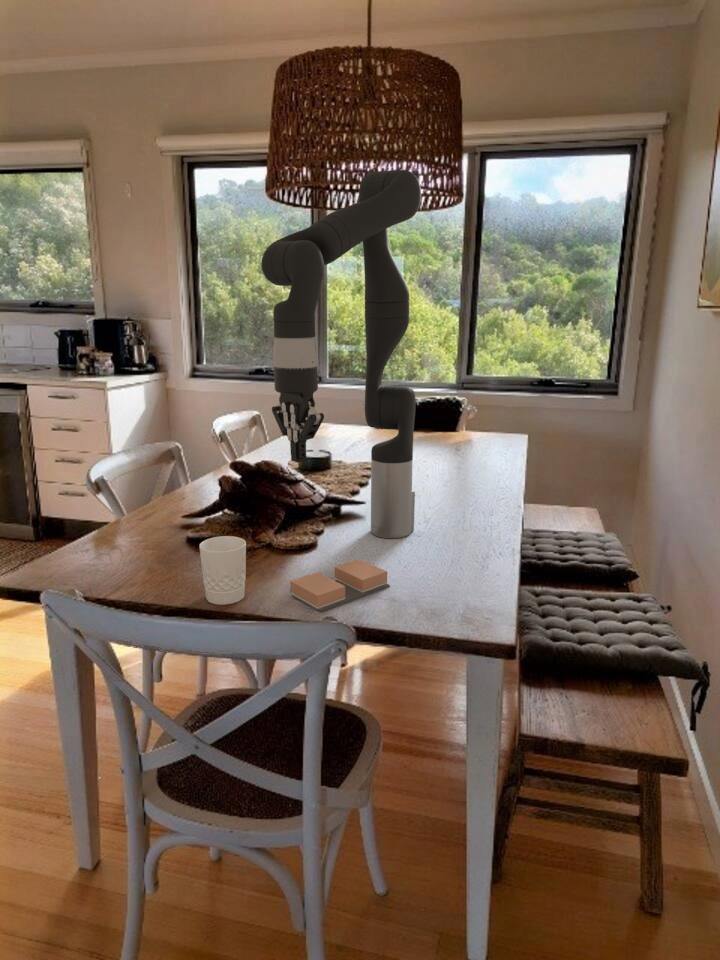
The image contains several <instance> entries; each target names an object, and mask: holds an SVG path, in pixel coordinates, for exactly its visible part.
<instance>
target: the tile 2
mask: <svg viewBox="0 0 720 960" xmlns="http://www.w3.org/2000/svg"><path fill="white" fill-rule="evenodd" d="M333 568H334V569H333V570H334V571H333V572H334V573H333V574H334V576H333V577H334V580H335V581H336V580H338V581H340V582H342V583H344V584H346V585H348V586H350V587H352V588H354V589H356V590H358V591H360V592H362V593H363V592H366V591H368V590H371V589H374V588H376V587H379V586H382V585H385V584H388V571H387V570H384V569H383V568H380V567H377V566H376V565H373V564H371V563H369V562H366V561H364V560H362V559H359V558H358V559H355V560H351V561H349V562H344V563H342V564H339V565H336V566H334V567H333Z"/></svg>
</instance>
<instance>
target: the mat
mask: <svg viewBox="0 0 720 960" xmlns="http://www.w3.org/2000/svg"><path fill="white" fill-rule="evenodd" d="M335 581H336V582H338V583H340V584H342V585H344V586H345V599H344V600H341V601H338V602H336V603H333V604H330V605H327V606H325V607H322V608H319V609H317V608H315V607H313V606H312V605H310V604H308V603H306V602H305V601H303V600H301V599H299V598H298V597H296V596H294V595H292V598H293V599H296V600H297V601H299V602H301V603H302V604H304V605H306V606H308V607H310V608H311V609H313V610H315V611H317V612H319V613H321V614H322V613H323V612H326V611H329V610H331V609H334V608H337V607H339V606H342V605H346V604H347V603H351V602H353V601H356V600H359V599H362V598H364V597H366V596H369V595H371V594H375V593H378V592H380V591H383V590H384V589H385V588H386V589H388V588H390V587H391V585H390V584H388V583H387V584H385V585H382V586H379V587H376V588H374V589H371V590H368V591H366V592H363V593H362V592H360V591H358V590H356V589H354V588H352V587H350V586H348V585H346V584H344V583H342V582H340V581H338V580H336V579H335ZM387 587H388V588H387ZM382 589H383V590H382ZM386 589H385V590H386ZM379 590H380V591H379Z"/></svg>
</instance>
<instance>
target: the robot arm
mask: <svg viewBox="0 0 720 960" xmlns="http://www.w3.org/2000/svg"><path fill="white" fill-rule="evenodd" d="M420 183H421V182H420V181H419V179H418V177H417V176H416V174H415V173H413V172H412V171H409V170H406V169H394V170H393V169H392V170H385V171H384V170H383V171H382V170H381V171H373V172H369V173H367V174H365V175H364V177H363V178H362V180H361V181H360V185H359V190H358V202H357V203H354V204H350V205H348V206H345V207H341V208H340V209H337V210H335V211H333V212H330V213H328V214H327V215H324V216H322V218H320V219H318V220H317V221H315V222H313V224H311V225H310V226H308V227H307V228H305V229H301V230H299V231H296V232H293V233H290V234H289V235H285V236H283V237H281V238H279V239H276V241H273V242H272V243H271V244H270V245H269V246H267V247H266V249H265V251H264V252H263V255H262V256H261V257H262V258H261V270H262V271H261V272H262V274H263V275H264V277H265V278H266V279H267V281H269V282H270V283H271V284H273V285H276V286H280V287H289V286H290V291H289V294H288V298H287V299H285V300H283V301H280V302H278V303H276V304H275V305H274V307H273V314H272V315H273V318H272V319H273V337H274V338H273V339H274V340H273V351H272V353H273V375H274V377H273V378H274V379H273V383H274V391H275V392H277V393H279V394H280V395H279V398H278V404H277V405H275V406H272V408H271V412H272V415H273V417H274V419H275V421H276V423H277V425H278V428H279V430H280V432H281V435H282V436H283V437H287V440H288V442H290V443H289V445H290V448H289V450H290V460H291V461H292V462H294V463H302V462H305V461H306V459H307V441H308V440H311V439H312V440H313V439H314V438H315V436H316V434H317V432H318V430H319V429H320V427H321V425H322V423H323V421H324V419H325V415H324V413H323V412H318V411H317V409H316V408H315V407H316V402H315V399H314V393H315V392H317V391H318V389H319V382H318V381H319V380H318V378H319V375H318V374H319V373H318V347H317V340H316V315H315V314H316V308H317V306H318V302H319V296H320V292H321V289H322V288H321V287H322V284H323V280H324V273H325V266H326V265H329V264H332V263H333V262H335V261H337V260H338V259H339V258H341V257H342V256H343V255H345V254H346V253H348V252H349V251H350V250H352V249H353V248H355V247H356V246H358V245H360V244H361V243H362V249H363V269H364V325H365V326H364V327H365V342H366V343H365V344H366V345H365V348H366V354H365V355H366V362H365V363H366V364H365V385H364V386H365V389H364V390H365V391H364V419H365V422H366V424H367V426H369V427H370V428H375V429H384V430H385V429H392V430H398V433H397V434H396V436H394V437H392V438H390V439H388V440H385V441H381V442H379V443H376V444H374V445H372V447H371V452H370V453H371V457H370V459H371V460H370V461H371V462H370V463H371V464H370V466H371V467H370V473H371V474H370V533H371V534H372V535H373V536H376V537H379V538H382V539H384V538H385V539H400V538H405V537H407V536H409V535H410V534H411V533H412V532H414V531H415V506H416V505H415V501H416V500H415V499H416V492H415V490H413V461H414V460H413V457H414V455H413V453H414V430H415V417H416V408H417V407H416V405H417V404H416V403H417V402H416V400H417V399H416V394H415V391H414V389H413V388H412V387H409V386H393V385H391V386H389V385H386V386H385V385H383V384H382V379H383V374H384V371H385V368H386V366H387V364H388V361H389V359H390V357H391V356H392V354H393V353H394V351H395V349H396V348H397V347H398V345H399V344H400V342H401V341H402V339H403V338H404V335H405V333H406V332H407V330H408V327H409V324H410V291H409V287H408V284H407V282H406V280H405V278H404V275H403V274H402V271H401V270H400V268H399V267H398V264H397V262H396V261H395V259H394V257H393V253H392V252H391V249H390V244H389V236H388V235H389V234H388V229H389V228H391V227H393V226H395V225H398V224H401V223H404V222H405V221H409V220H410V219H412V218H413V217H414V216H415V215H416V214H417V212H418V211H419V208H420V206H421V202H422V188H421V185H420ZM413 530H414V531H413Z"/></svg>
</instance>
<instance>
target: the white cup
mask: <svg viewBox="0 0 720 960" xmlns="http://www.w3.org/2000/svg"><path fill="white" fill-rule="evenodd" d="M199 555H200V562H201V563H200V564H201V566H200V567H201V572H202V581H203V585H204V593H205V600H207V602H209V603H210V604H213V605H220V606H225V605H231V604H236V603H238V602H240V601H241V600H243V599H244V597H245V595H246V576H247V573H246V572H247V542H246V540H245V539H243V538H242V537H239V536H238V537H237V536H233V535H226V536H225V535H222V536H214V537H211V538H207V539H204V540H203V541H202V542H200V543H199Z"/></svg>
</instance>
